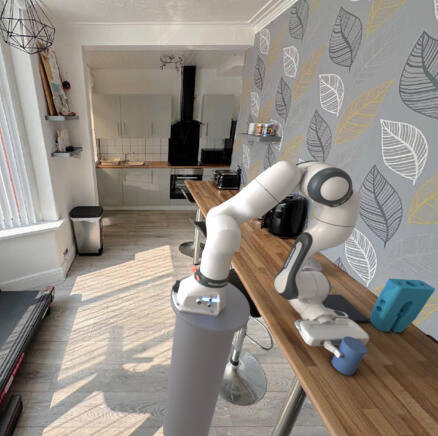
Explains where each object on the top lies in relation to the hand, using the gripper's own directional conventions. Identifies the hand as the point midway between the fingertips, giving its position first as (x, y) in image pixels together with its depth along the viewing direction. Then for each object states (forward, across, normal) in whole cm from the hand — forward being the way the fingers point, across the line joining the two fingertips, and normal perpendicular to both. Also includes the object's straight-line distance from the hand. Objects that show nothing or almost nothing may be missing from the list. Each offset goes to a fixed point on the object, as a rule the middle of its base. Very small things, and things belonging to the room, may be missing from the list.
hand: (352, 356), depth 70 cm
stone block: (-53, +26, +6) cm, 59 cm away
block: (-16, +30, +6) cm, 35 cm away
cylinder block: (-1, 0, +6) cm, 6 cm away
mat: (-25, +16, +6) cm, 30 cm away
